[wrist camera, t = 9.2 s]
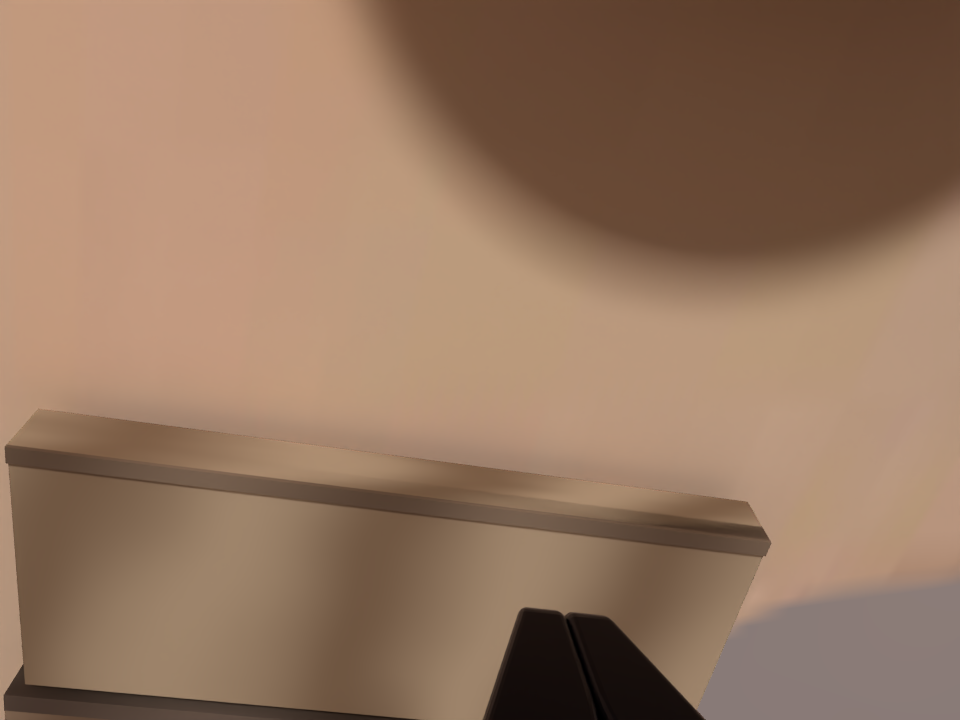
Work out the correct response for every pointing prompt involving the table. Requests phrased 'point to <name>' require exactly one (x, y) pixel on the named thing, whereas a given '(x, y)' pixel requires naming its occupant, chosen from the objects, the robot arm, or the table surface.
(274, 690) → the plank
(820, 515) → the table surface
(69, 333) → the table surface
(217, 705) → the laid board
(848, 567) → the table surface
